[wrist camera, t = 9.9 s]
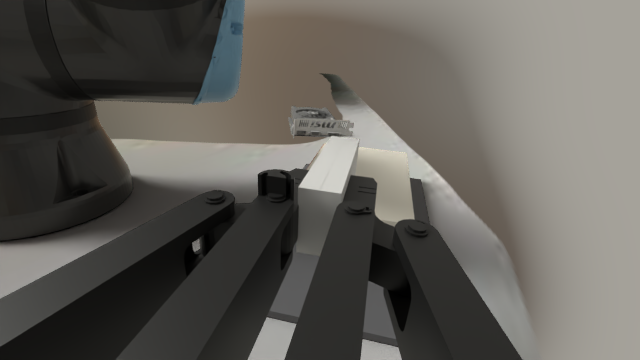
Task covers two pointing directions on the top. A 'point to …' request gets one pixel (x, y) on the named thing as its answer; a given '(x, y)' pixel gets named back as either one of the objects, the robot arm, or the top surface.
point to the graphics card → (316, 123)
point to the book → (386, 182)
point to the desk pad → (376, 309)
